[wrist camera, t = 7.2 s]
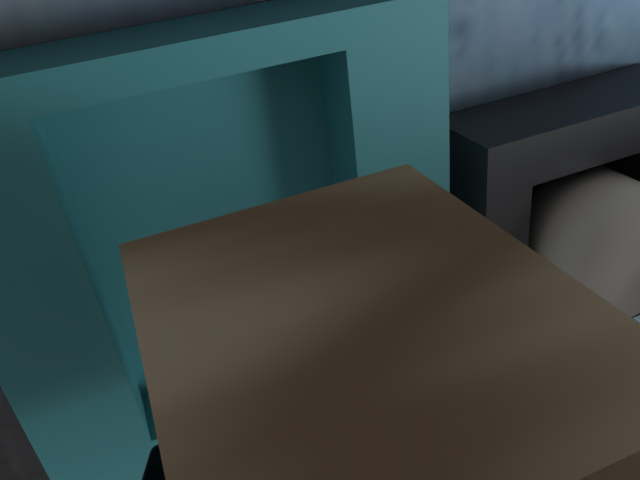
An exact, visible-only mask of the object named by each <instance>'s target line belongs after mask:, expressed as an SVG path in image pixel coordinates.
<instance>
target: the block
mask: <svg viewBox="0 0 640 480" xmlns="http://www.w3.org/2000/svg"><path fill="white" fill-rule="evenodd" d="M119 248H120V253H121V258H122V263H123V269H124V274H125V279H126V284H127V289H128V294H129V299H130V304H131V309H132V314H133V319H134V324H135V329H136V334H137V339H138V344H139V349H140V354H141V359H142V364H143V369H144V374H145V379H146V384H147V389H148V394H149V399H150V404H151V409H152V414H153V419H154V424H155V429H156V434H157V439H158V444H159V449H160V455H161V460H162V465H163V470H164V475H165V480H640V323H638V322H637V321H635V320H634V319H632V318H631V317H629V316H628V315H627V314H625V313H624V312H622V311H621V310H619V309H618V308H616V307H615V306H613V305H612V304H611V303H609V302H608V301H606V300H605V299H603V298H602V297H600V296H599V295H597V294H596V293H595V292H593V291H592V290H590V289H589V288H587V287H586V286H584V285H583V284H581V283H580V282H579V281H577V280H576V279H574V278H573V277H571V276H570V275H568V274H567V273H566V272H564V271H563V270H561V269H560V268H558V267H557V266H555V265H554V264H552V263H551V262H550V261H548V260H547V259H545V258H544V257H542V256H541V255H539V254H538V253H536V252H535V251H534V250H532V249H531V248H529V247H528V246H526V245H525V244H523V243H522V242H520V241H519V240H518V239H516V238H515V237H513V236H512V235H510V234H509V233H507V232H506V231H505V230H503V229H502V228H500V227H499V226H497V225H496V224H494V223H493V222H491V221H490V220H489V219H487V218H486V217H484V216H483V215H481V214H480V213H478V212H477V211H475V210H474V209H473V208H471V207H470V206H468V205H467V204H465V203H464V202H462V201H461V200H460V199H458V198H457V197H455V196H454V195H452V194H451V193H449V192H448V191H446V190H445V189H444V188H442V187H441V186H439V185H438V184H436V183H435V182H433V181H432V180H430V179H429V178H428V177H426V176H425V175H423V174H422V173H420V172H419V171H417V170H416V169H414V168H413V167H412V166H410V165H409V164H405V165H401V166H397V167H394V168H390V169H387V170H383V171H380V172H376V173H372V174H369V175H365V176H362V177H358V178H355V179H351V180H347V181H344V182H340V183H337V184H333V185H329V186H326V187H322V188H319V189H315V190H312V191H308V192H304V193H301V194H297V195H294V196H290V197H287V198H283V199H279V200H276V201H272V202H269V203H265V204H262V205H258V206H254V207H251V208H247V209H244V210H240V211H237V212H233V213H229V214H226V215H222V216H219V217H215V218H212V219H208V220H204V221H201V222H197V223H194V224H190V225H186V226H183V227H179V228H176V229H172V230H169V231H165V232H161V233H158V234H154V235H151V236H147V237H144V238H140V239H136V240H133V241H129V242H126V243H122V244H119Z"/></svg>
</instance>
